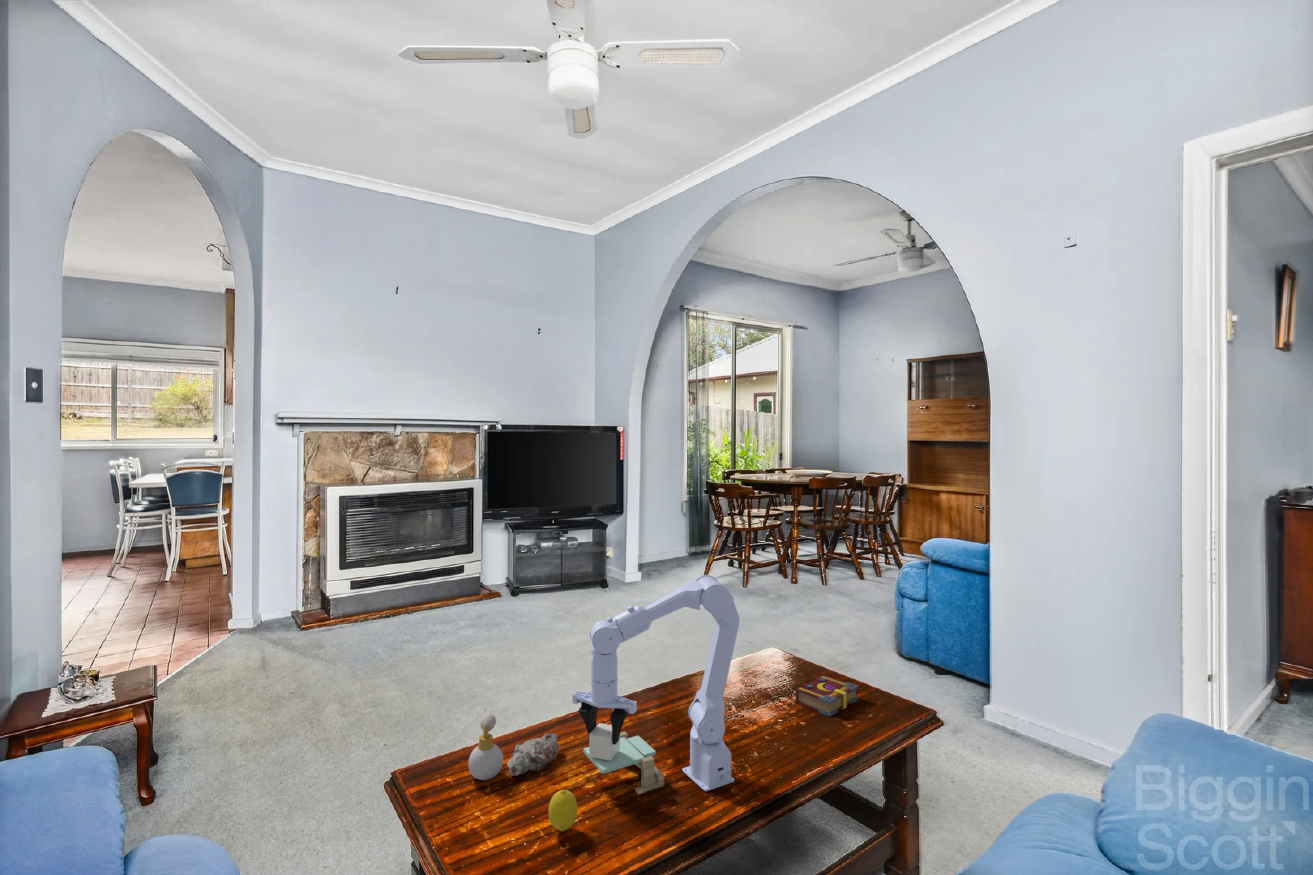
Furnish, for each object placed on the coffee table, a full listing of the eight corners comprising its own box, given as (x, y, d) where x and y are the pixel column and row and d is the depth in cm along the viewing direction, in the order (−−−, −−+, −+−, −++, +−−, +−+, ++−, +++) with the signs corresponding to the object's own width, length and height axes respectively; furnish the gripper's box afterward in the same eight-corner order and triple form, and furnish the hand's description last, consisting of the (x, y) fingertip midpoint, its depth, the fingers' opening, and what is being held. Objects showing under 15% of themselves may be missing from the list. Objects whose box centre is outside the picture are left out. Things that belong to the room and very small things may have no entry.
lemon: (578, 821, 123) (578, 781, 123) (575, 840, 118) (576, 798, 118) (550, 821, 123) (550, 781, 123) (546, 840, 118) (546, 798, 118)
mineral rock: (514, 784, 136) (515, 764, 136) (496, 769, 142) (497, 750, 142) (570, 760, 146) (571, 741, 146) (552, 746, 152) (552, 728, 152)
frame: (664, 785, 136) (664, 755, 136) (638, 794, 132) (638, 763, 132) (634, 756, 148) (634, 728, 147) (609, 763, 144) (609, 735, 144)
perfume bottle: (473, 789, 134) (473, 734, 133) (461, 768, 142) (461, 716, 142) (507, 779, 138) (507, 725, 137) (494, 759, 146) (494, 708, 146)
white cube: (619, 748, 138) (619, 726, 138) (610, 760, 133) (610, 738, 133) (599, 744, 139) (599, 722, 139) (589, 756, 135) (589, 733, 135)
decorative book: (794, 704, 176) (794, 686, 176) (825, 687, 187) (825, 671, 187) (830, 718, 168) (830, 699, 168) (860, 699, 179) (860, 682, 179)
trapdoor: (659, 763, 137) (659, 753, 137) (603, 781, 130) (603, 770, 130) (636, 742, 146) (636, 732, 146) (582, 757, 139) (582, 747, 139)
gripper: (642, 675, 137) (641, 736, 137) (582, 666, 142) (582, 725, 142) (629, 688, 130) (629, 752, 130) (567, 678, 135) (567, 740, 135)
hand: (604, 739), depth 136 cm, fingers closed on white cube, 5 cm apart
